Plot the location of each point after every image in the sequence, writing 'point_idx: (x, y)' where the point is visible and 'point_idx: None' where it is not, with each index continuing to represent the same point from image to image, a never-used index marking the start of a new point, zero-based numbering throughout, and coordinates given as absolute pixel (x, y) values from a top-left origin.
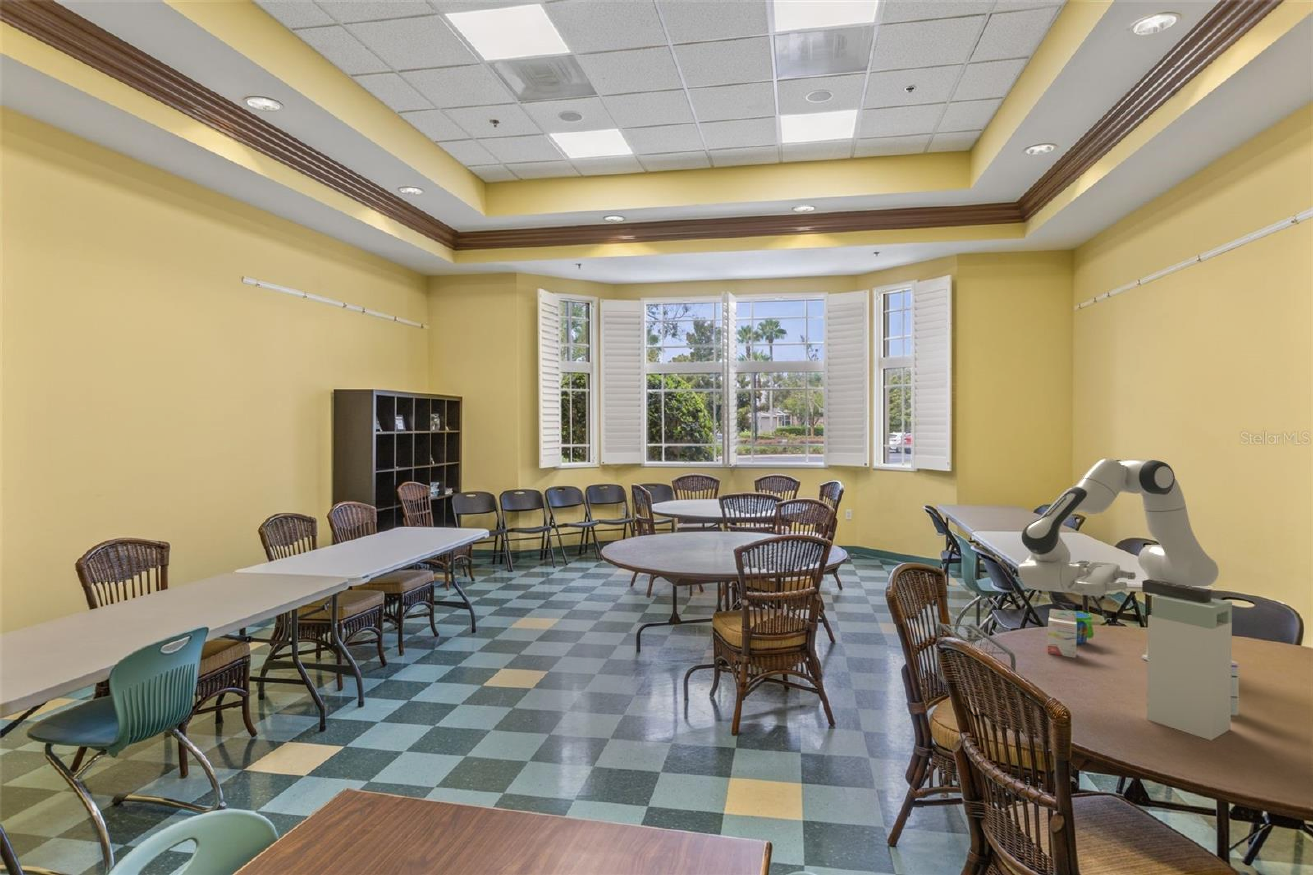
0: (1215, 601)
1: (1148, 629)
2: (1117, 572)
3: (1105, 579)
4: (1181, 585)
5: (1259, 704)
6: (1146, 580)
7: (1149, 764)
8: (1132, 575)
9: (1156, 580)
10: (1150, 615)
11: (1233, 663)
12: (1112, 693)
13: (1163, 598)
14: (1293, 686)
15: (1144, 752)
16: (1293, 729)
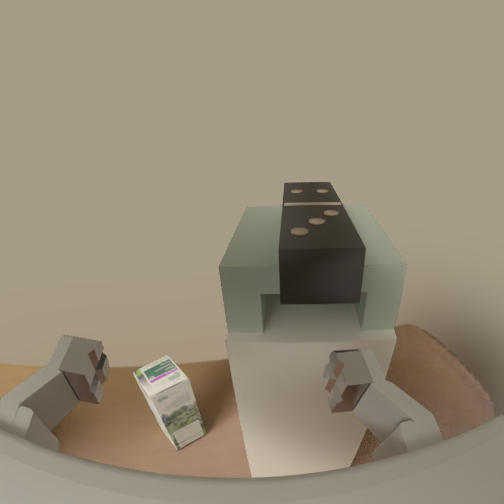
0: (280, 212)
1: (385, 372)
2: (32, 440)
3: (415, 454)
4: (299, 200)
5: (114, 399)
6: (332, 244)
7: (478, 399)
8: (100, 354)
9: (291, 230)
10: (385, 337)
11: (171, 359)
12: None
13: (390, 248)
14: (28, 371)
15: (459, 419)
16: (193, 369)
